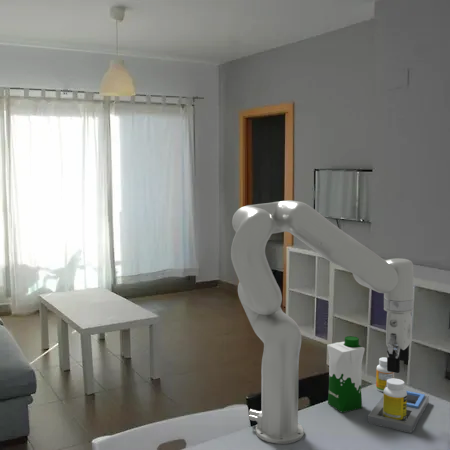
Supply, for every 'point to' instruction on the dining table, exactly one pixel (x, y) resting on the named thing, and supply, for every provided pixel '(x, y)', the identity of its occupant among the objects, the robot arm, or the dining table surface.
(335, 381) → the milk carton
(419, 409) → the organizer board
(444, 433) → the dining table surface
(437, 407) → the dining table surface
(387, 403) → the pill bottle
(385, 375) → the supplement bottle
